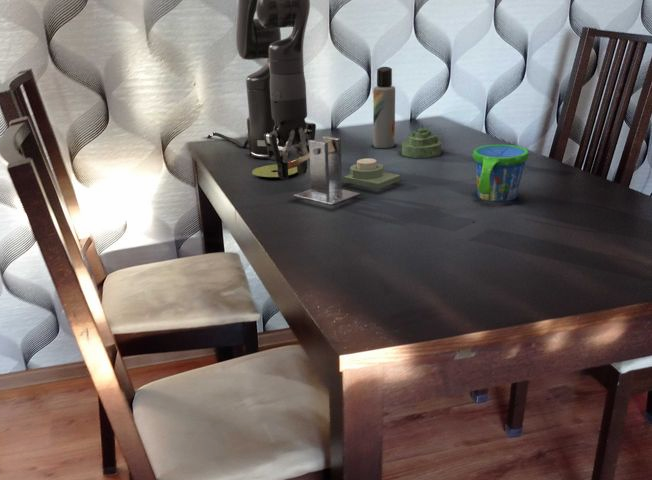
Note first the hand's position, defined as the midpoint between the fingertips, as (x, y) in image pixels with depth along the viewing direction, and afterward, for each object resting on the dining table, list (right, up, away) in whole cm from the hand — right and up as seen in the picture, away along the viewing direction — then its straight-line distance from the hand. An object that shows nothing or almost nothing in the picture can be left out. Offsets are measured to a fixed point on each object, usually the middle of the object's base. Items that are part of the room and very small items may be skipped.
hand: (292, 175), depth 154 cm
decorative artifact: (+33, +12, +27) cm, 44 cm away
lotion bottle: (+24, +17, +36) cm, 46 cm away
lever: (+4, +2, -6) cm, 7 cm away
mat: (-4, +2, +13) cm, 14 cm away
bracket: (+7, -6, -4) cm, 11 cm away
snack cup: (+42, -8, -10) cm, 44 cm away
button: (+17, +2, +3) cm, 17 cm away
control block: (+18, -1, +4) cm, 18 cm away
